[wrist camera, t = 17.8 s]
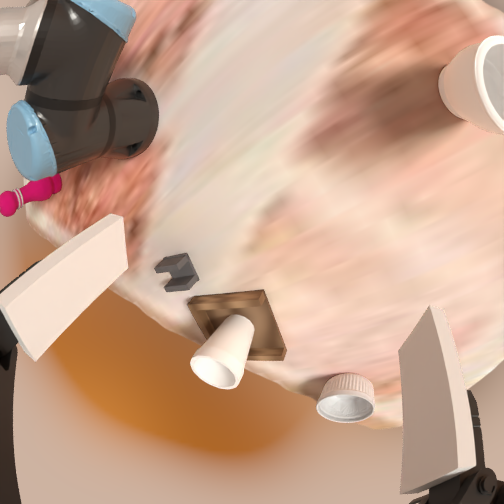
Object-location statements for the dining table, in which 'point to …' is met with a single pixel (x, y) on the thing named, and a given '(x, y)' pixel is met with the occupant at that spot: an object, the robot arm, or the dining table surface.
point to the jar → (476, 84)
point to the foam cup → (224, 353)
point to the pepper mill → (29, 194)
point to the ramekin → (347, 398)
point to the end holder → (251, 307)
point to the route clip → (178, 272)
